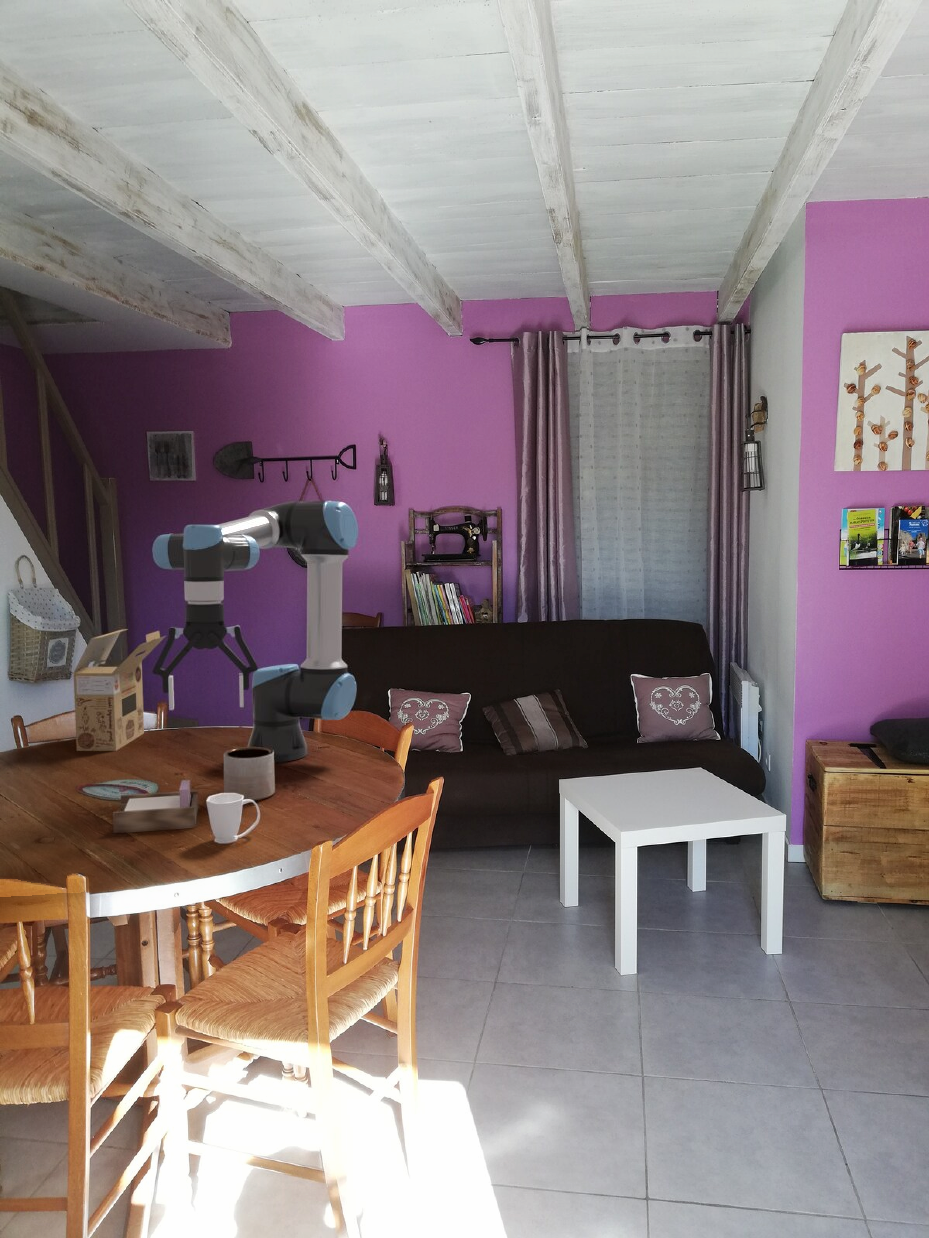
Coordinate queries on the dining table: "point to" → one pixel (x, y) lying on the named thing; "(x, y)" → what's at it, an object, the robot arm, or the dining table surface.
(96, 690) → the box
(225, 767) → the planter
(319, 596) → the robot arm
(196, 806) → the pencil case
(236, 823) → the cup
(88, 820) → the dining table surface
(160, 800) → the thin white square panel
